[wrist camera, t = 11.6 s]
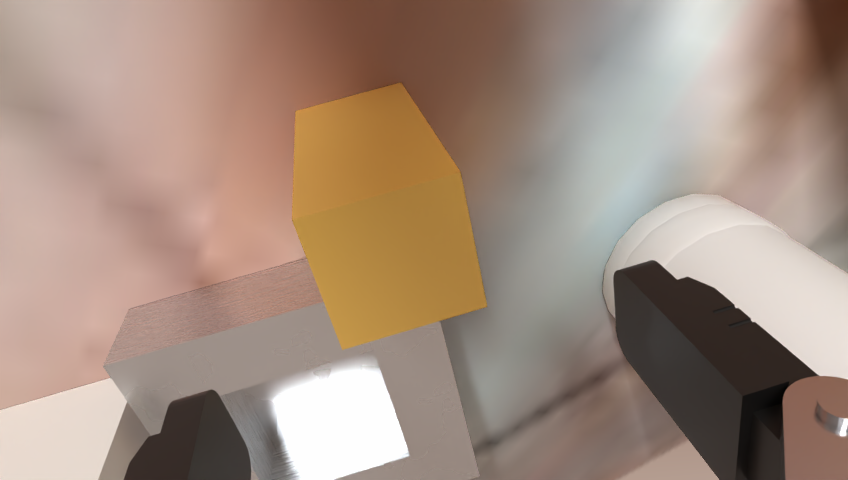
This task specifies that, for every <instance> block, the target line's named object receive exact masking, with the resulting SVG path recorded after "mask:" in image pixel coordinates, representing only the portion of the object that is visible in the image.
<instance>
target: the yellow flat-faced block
mask: <svg viewBox="0 0 848 480" xmlns="http://www.w3.org/2000/svg"><path fill="white" fill-rule="evenodd" d="M292 221H293V224H294V226H295V229H296V231H297V234H298V237H299V239H300V242H301V244H302V247H303V250H304V252H305V255H306V257H307V260H308V263H309V265H310V268H311V270H312V273H313V275H314V278H315V281H316V283H317V286H318V288H319V291H320V294H321V296H322V299H323V301H324V304H325V307H326V309H327V312H328V314H329V317H330V320H331V322H332V325H333V327H334V330H335V333H336V335H337V338H338V340H339V343H340V345H341V348H342V350H344V349H348V348H351V347H354V346H358V345H361V344H364V343H368V342H371V341H374V340H378V339H381V338H384V337H388V336H391V335H395V334H398V333H401V332H405V331H408V330H411V329H415V328H418V327H421V326H425V325H428V324H431V323H435V322H438V321H441V320H445V319H448V318H452V317H455V316H458V315H462V314H465V313H468V312H472V311H475V310H478V309H482V308H485V307H487V302H486V297H485V292H484V287H483V282H482V277H481V272H480V267H479V262H478V257H477V252H476V247H475V242H474V237H473V232H472V227H471V222H470V217H469V212H468V207H467V202H466V197H465V192H464V187H463V182H462V176H461V172H460V170H459V169H458V167H457V166H456V164H455V163H454V161H453V160H452V158H451V157H450V155H449V154H448V152H447V151H446V149H445V148H444V146H443V145H442V143H441V142H440V140H439V139H438V137H437V136H436V134H435V133H434V131H433V130H432V128H431V127H430V125H429V124H428V122H427V121H426V119H425V118H424V116H423V115H422V113H421V112H420V110H419V109H418V107H417V106H416V104H415V103H414V101H413V100H412V98H411V97H410V95H409V94H408V92H407V91H406V89H405V88H404V86H403V85H402V83H401V82H400V83H397V84H393V85H389V86H386V87H382V88H378V89H375V90H371V91H367V92H363V93H360V94H356V95H352V96H349V97H345V98H341V99H338V100H334V101H330V102H327V103H323V104H319V105H316V106H312V107H308V108H305V109H301V110H297V111H295V141H294V172H293V203H292Z"/></svg>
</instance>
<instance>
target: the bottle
mask: <svg viewBox="0 0 848 480" xmlns="http://www.w3.org/2000/svg"><path fill="white" fill-rule="evenodd" d="M650 260H655V261H657V262H658V263H659V264H660V265H662V266H663V267H664V268H665V269H666V270H667V271H668V272H669V273H670V274H672V275H673V276H674V277H675V278H676V279H677V280H678V279H681V278H685V277H690V278H692V279H695V280H697V281H700V282H702V283H704V284H707V285H709V286H712V287H714V288H715V289H717V290H718V291H719V292H720V293H721V294H723V295H724V296H725V297H726V298H727V299H729V300H730V301H731V302H732V303H733V304H734V306H735V308H739V309H740V310H742V311H743V312H744V313H745V314H746V315H748V316H749V317H750V318H751V321H752V322H756V323H757V324H758V325H759V326H761V327H762V328H763V329H764V330H765V331H767V332H768V333H769V334H770V335H771V336H772V337H774V338H775V339H776V340H777V341H778V342H780V343H781V344H782V345H783V346H784V347H786V348H787V349H788V350H789V351H790V352H791V353H793V354H794V355H795V356H796V357H797V358H799V359H800V360H801V361H802V362H803V363H805V364H806V365H807V366H808V367H809V368H810V369H812V370H813V371H814V372H815V373H816V374H818V375H819V376H831V377H839V378H844V379H848V273H847V272H845V271H843V270H842V269H840V268H839V267H837V266H835V265H834V264H832V263H831V262H829V261H827V260H826V259H824V258H823V257H821V256H819V255H818V254H816V253H815V252H813V251H811V250H810V249H808V248H807V247H805V246H803V245H802V244H800V243H799V242H797V241H795V240H794V239H792V238H791V237H789V236H788V234H787V233H786V232H785V231H784V230H782V229H781V228H779V227H778V226H776V225H775V224H773V223H771V222H770V221H768V220H766V219H764V218H763V217H761V216H759V215H757V214H755V213H753V212H751V211H749V210H747V209H745V208H743V207H741V206H739V205H738V204H736V203H734V202H732V201H730V200H728V199H726V198H724V197H722V196H720V195H712V194H690V195H686V196H683V197H680V198H677V199H673V200H670V201H667V202H664V203H662V204H661V205H659V206H658V207H656V208H655V209H653V210H651V211H650V212H648V213H647V214H645V215H644V216H642V217H641V218H639V219H638V220H637V221H636V222H635V223H634V224H633V225H632V226H631V227H630V228H629V230H628V231H627V232H626V233H625V234H624V235H623V236H622V237H621V238H620V239H619V241H618V242H617V244H616V246H615V248H614V250H613V252H612V254H611V256H610V258H609V260H608V262H607V264H606V266H605V272H604V281H603V289H602V291H603V294H604V298H605V301H606V304H607V307H608V310H609V312H610V313H611V314H612V315H613V317H614V318H615V302H614V285H613V276H614V273H615V271H617V270H620V269H623V268H626V267H630V266H633V265H637V264H640V263H643V262H647V261H650ZM615 319H616V318H615Z"/></svg>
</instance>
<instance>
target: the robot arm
mask: <svg viewBox="0 0 848 480" xmlns="http://www.w3.org/2000/svg"><path fill="white" fill-rule="evenodd" d="M613 285H614V302H615V318H616V332H617V337H618V341H619V344H620V347H621V349H622V351H623V353H624V355H625V357H626V359H627V360H628V362H629V363H630V364H631V366H632V367H633V368H634V369H635V371H636V372H637V373H638V375H639V376H640V377H641V379H642V380H643V381H644V382H645V384H646V385H647V386H648V388H649V389H650V390H651V391H652V393H653V394H654V395H655V397H656V398H657V399H658V401H659V402H660V403H661V404H662V406H663V407H664V408H665V410H666V411H667V412H668V414H669V415H670V416H671V417H672V419H673V420H674V421H675V423H676V424H677V425H678V426H679V428H680V429H681V430H682V432H683V433H684V434H685V436H686V437H687V438H688V439H689V441H690V442H691V443H692V445H693V446H694V447H695V448H696V450H697V451H698V452H699V454H700V455H701V456H702V458H703V459H704V460H705V461H706V463H707V464H708V465H709V467H710V468H711V469H712V471H713V472H714V473H715V474H716V476H717V477H718V478H719V480H848V379H844V378H839V377H831V376H819V375H818V374H816V373H815V372H814V371H813V370H812V369H810V368H809V367H808V366H807V365H806V364H805V363H803V362H802V361H801V360H800V359H799V358H797V357H796V356H795V355H794V354H793V353H791V352H790V351H789V350H788V349H787V348H786V347H784V346H783V345H782V344H781V343H780V342H778V341H777V340H776V339H775V338H774V337H772V336H771V335H770V334H769V333H768V332H767V331H765V330H764V329H763V328H762V327H761V326H759V325H758V324H757V323H756V322H752V321H751V318H750V317H749V316H748V315H746V314H745V313H744V312H743V311H742V310H740V309H739V308H735V306H734V304H733V303H732V302H731V301H730V300H729V299H727V298H726V297H725V296H724V295H723V294H721V293H720V292H719V291H718V290H717V289H715V288H714V287H712V286H709V285H707V284H704V283H702V282H700V281H697V280H695V279H692V278H690V277H685V278H681V279H678V280H677V279H676V278H675V277H674V276H673V275H672V274H670V273H669V272H668V271H667V270H666V269H665V268H664V267H663V266H662V265H660V264H659V263H658V262H657V261H655V260H650V261H647V262H643V263H640V264H637V265H633V266H630V267H626V268H623V269H620V270H617V271H615V273H614V276H613ZM124 480H251V462H250V456H249V452H248V449H247V446H246V443H245V441H244V439H243V438H242V436H241V434H240V432H239V430H238V429H237V427H236V425H235V423H234V421H233V419H232V418H231V416H230V414H229V412H228V410H227V409H226V407H225V405H224V403H223V401H222V400H221V398H220V396H219V395H218V393H217V392H216V391H215V390H212V389H211V390H207V391H204V392H200V393H197V394H194V395H190V396H187V397H184V398H180V399H177V400H174V401H172V402H171V403H170V404H169V406H168V408H167V412H166V415H165V418H164V422H163V425H162V429H161V432H160V433H159V434H155V435H152V436H149V437H148V438H147V439H146V441H145V442H144V443H143V445H142V446H141V447H140V449H139V450H138V452H137V453H136V454H135V456H134V457H133V458H132V460H131V461H130V463H129V465H128V468H127V471H126V474H125V477H124Z"/></svg>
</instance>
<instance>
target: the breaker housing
mask: <svg viewBox="0 0 848 480" xmlns="http://www.w3.org/2000/svg"><path fill="white" fill-rule="evenodd" d="M149 436H151V435H150V434H149V432H148V431H147V430H146V428H145V427H144V425H143V424H142V422H141V421H140V419H139V418H138V416H137V415H136V414H135V412H134V411H133V409H132V408H131V406H130V405H129V403H128V402H127V400H126V399H125V398H124V396H123V395H122V393H121V392H120V390H119V389H118V387H117V386H116V384H115V383H114V382H113V380H112V379H111V378H108V379H105V380H101V381H98V382H94V383H91V384H88V385H84V386H81V387H77V388H74V389H70V390H67V391H64V392H60V393H57V394H53V395H50V396H47V397H43V398H40V399H36V400H33V401H30V402H26V403H23V404H19V405H16V406H12V407H9V408H6V409H2V410H0V480H124V477H125V474H126V471H127V468H128V465H129V463H130V461H131V460H132V458H133V457H134V456H135V454H136V453H137V452H138V450H139V449H140V447H141V446H142V445H143V443H144V442H145V441H146V439H147V438H148V437H149Z"/></svg>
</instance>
